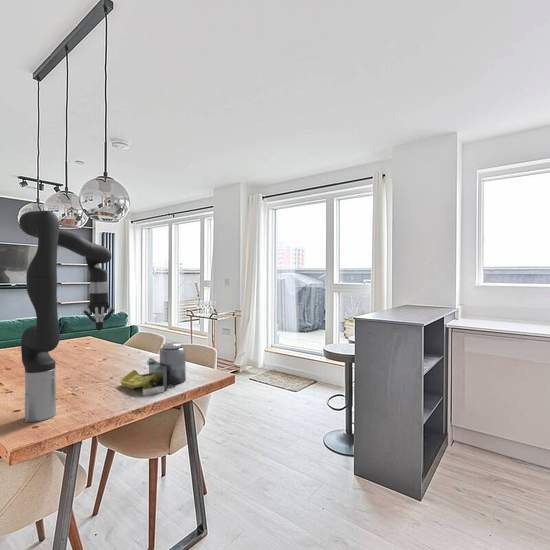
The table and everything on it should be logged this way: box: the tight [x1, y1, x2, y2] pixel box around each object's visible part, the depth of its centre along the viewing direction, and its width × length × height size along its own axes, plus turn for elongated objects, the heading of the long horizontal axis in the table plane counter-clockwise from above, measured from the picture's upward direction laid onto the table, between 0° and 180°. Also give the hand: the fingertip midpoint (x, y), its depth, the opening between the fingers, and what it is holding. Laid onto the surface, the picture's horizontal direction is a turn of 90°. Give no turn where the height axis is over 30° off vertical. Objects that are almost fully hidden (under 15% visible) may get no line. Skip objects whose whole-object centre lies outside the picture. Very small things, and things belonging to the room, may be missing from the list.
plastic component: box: [119, 369, 157, 390], centre depth 157 cm, size 20×7×10 cm
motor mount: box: [138, 341, 187, 397], centre depth 162 cm, size 23×26×18 cm
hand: (99, 330), depth 153 cm, fingers closed
